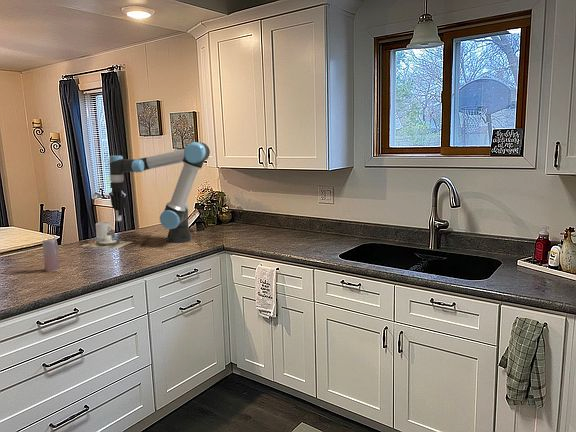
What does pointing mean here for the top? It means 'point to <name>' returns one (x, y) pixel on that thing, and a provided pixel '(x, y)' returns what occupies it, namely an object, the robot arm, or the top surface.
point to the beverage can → (50, 255)
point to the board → (107, 244)
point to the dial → (109, 237)
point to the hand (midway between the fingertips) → (118, 220)
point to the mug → (102, 229)
